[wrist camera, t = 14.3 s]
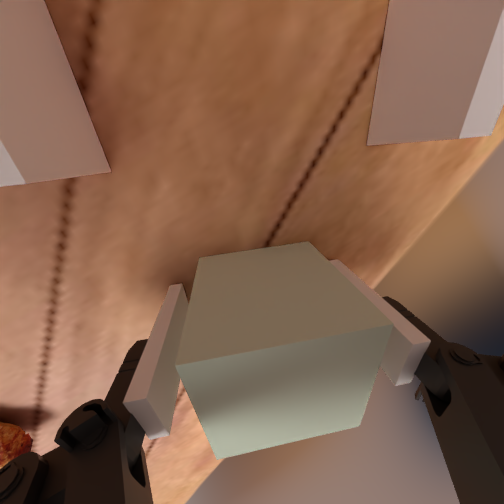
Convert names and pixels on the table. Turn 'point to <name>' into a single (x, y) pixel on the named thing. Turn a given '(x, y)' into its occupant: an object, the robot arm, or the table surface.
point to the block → (277, 348)
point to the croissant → (13, 442)
